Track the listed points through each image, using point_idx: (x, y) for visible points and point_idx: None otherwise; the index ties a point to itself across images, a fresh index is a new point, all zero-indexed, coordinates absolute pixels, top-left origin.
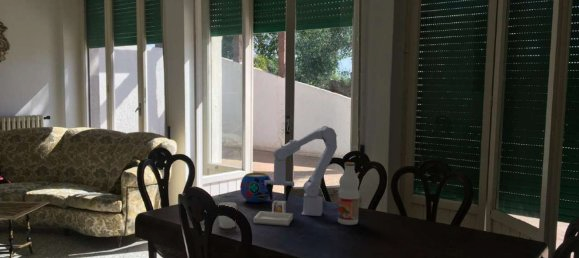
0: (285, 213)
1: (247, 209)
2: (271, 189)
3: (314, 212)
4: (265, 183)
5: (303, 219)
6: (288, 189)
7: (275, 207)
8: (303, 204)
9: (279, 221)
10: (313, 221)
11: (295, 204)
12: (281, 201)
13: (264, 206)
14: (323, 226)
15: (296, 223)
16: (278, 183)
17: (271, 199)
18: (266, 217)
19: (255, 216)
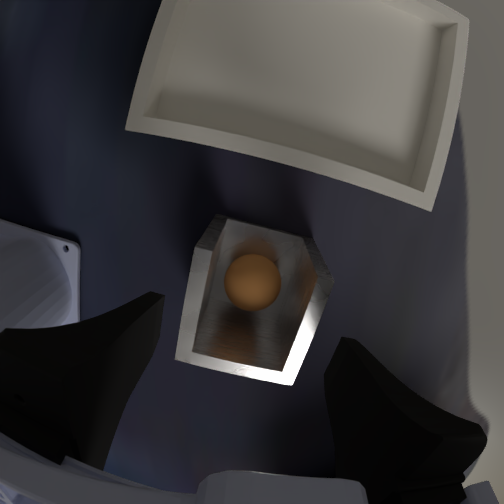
0: (192, 126)
1: (444, 371)
2: (378, 438)
3: (2, 240)
4: (486, 498)
5: (69, 124)
6: (37, 340)
7: (281, 329)
8: (40, 315)
9: None
10: (22, 89)
11: (151, 455)
12: (220, 358)
13: (332, 434)
14: (4, 10)
15: (128, 13)
16: (271, 502)
17: (344, 339)
18: (370, 128)
19: (463, 49)
